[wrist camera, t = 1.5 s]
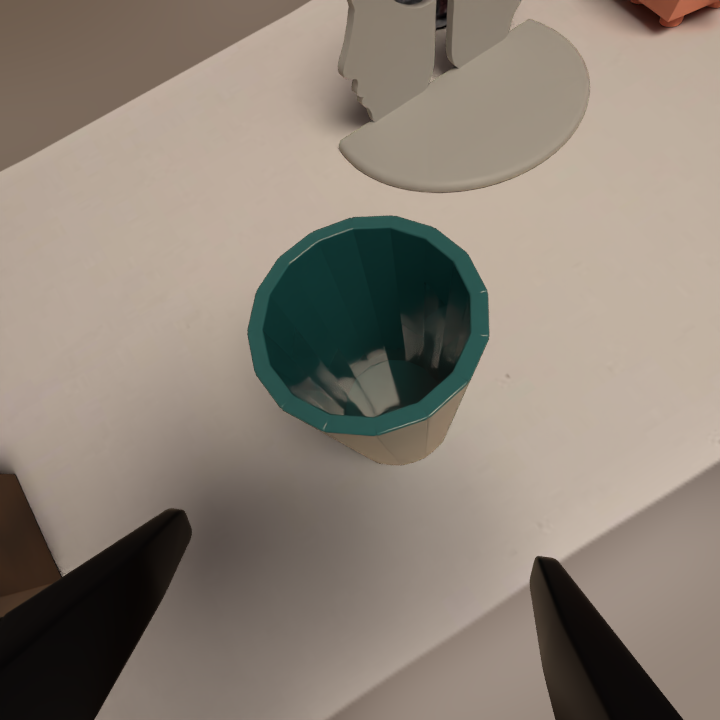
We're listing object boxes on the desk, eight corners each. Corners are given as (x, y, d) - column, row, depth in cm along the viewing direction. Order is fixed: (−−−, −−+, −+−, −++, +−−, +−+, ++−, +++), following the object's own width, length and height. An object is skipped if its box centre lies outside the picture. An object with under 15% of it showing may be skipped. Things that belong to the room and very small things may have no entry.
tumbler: (451, 470, 20) (493, 445, 8) (334, 460, 22) (225, 424, 10) (452, 358, 23) (485, 210, 11) (347, 355, 24) (271, 219, 12)
